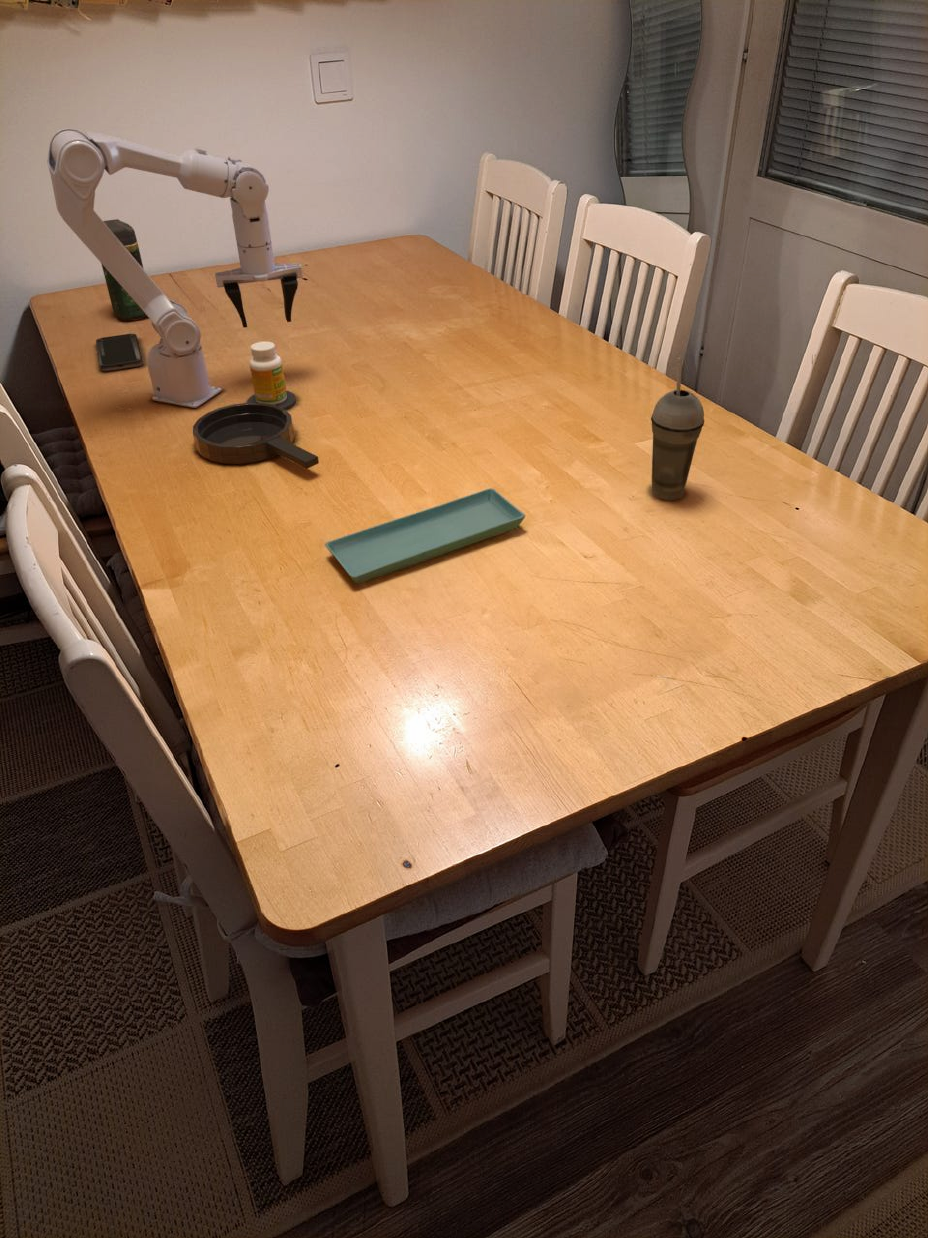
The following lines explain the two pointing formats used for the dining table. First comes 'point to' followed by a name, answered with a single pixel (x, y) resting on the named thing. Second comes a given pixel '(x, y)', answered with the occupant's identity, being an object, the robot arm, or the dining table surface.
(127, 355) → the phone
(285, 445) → the pan handle
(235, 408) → the pan
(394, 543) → the teal serving tray
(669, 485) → the beverage cup
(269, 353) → the supplement bottle
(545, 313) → the dining table surface
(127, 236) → the coffee jar
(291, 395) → the coaster
